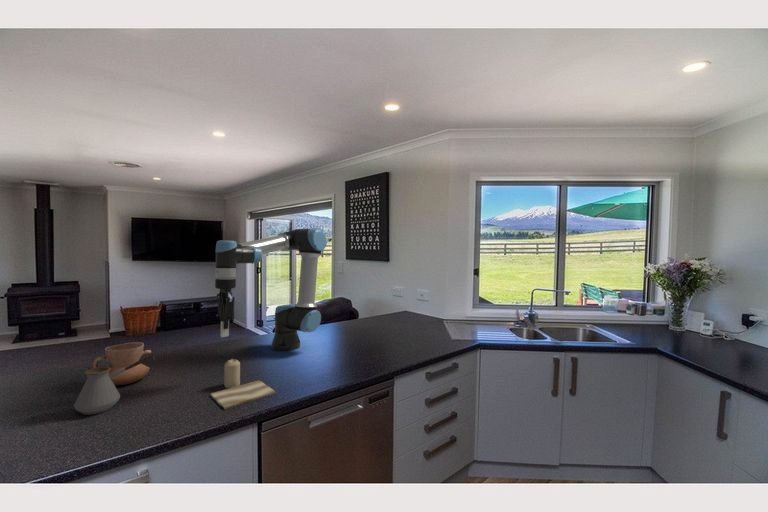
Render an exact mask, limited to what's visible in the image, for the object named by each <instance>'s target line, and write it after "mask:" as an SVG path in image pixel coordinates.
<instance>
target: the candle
mask: <svg viewBox="0 0 768 512" xmlns="http://www.w3.org/2000/svg"><path fill="white" fill-rule="evenodd" d="M223 372H224V373H223V374H224V380H223V381H224V382H223V383H224V384H223V385H224V388H225V389H229V388H232V387H236V386H240V385H241V362H240V361H239V360H238V359H236V358H235V359H234V358H231V359H230V360H229V359H228V360H227V361H226V362H225V364H224V371H223Z"/></svg>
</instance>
